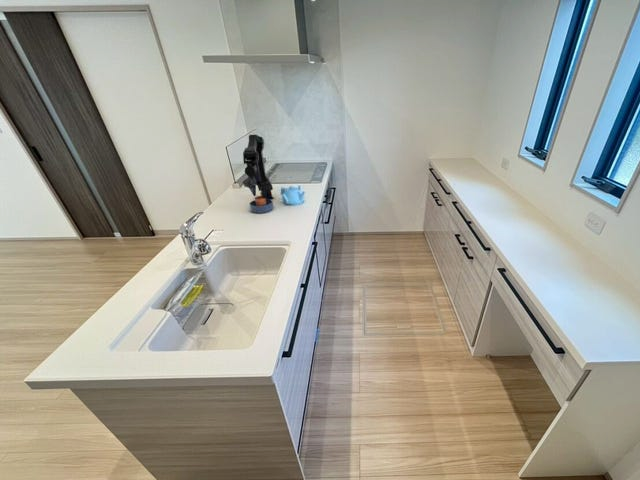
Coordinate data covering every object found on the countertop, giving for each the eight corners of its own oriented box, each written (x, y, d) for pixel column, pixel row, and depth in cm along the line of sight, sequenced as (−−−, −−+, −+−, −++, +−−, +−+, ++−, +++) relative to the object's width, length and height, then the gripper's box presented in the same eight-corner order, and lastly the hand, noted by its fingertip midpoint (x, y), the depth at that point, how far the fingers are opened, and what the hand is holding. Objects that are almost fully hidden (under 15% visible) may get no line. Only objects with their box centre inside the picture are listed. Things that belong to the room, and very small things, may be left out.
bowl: (270, 204, 206) (268, 197, 204) (276, 210, 196) (275, 203, 194) (248, 208, 200) (247, 201, 198) (254, 215, 190) (252, 208, 188)
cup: (265, 206, 202) (263, 195, 198) (268, 209, 197) (266, 197, 193) (255, 208, 199) (253, 196, 195) (258, 211, 194) (255, 199, 190)
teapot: (303, 197, 218) (301, 182, 212) (307, 204, 206) (305, 188, 200) (281, 200, 213) (278, 184, 208) (283, 207, 202) (281, 191, 196)
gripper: (233, 173, 184) (239, 198, 193) (253, 177, 175) (259, 203, 184) (248, 168, 192) (253, 193, 200) (268, 173, 183) (273, 198, 192)
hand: (259, 197), depth 194 cm, fingers open, 9 cm apart
